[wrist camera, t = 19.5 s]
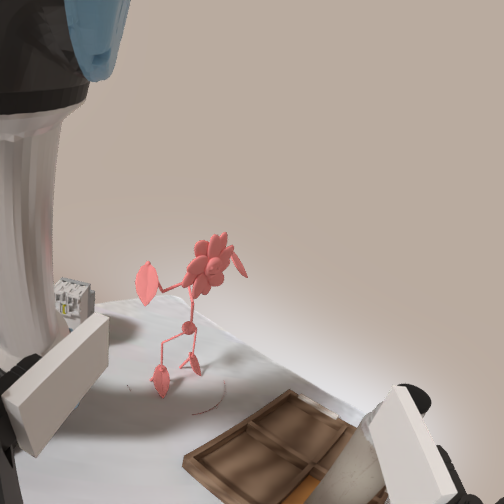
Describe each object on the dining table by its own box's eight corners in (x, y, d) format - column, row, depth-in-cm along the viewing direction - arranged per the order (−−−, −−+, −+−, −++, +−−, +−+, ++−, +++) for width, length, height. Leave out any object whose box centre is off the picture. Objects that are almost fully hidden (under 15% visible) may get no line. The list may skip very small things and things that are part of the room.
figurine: (117, 390, 55) (133, 221, 46) (200, 355, 77) (233, 221, 68) (167, 439, 48) (202, 258, 39) (248, 387, 69) (295, 246, 60)
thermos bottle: (338, 498, 39) (425, 375, 32) (347, 533, 32) (455, 415, 25) (295, 499, 39) (373, 372, 32) (300, 537, 31) (399, 418, 24)
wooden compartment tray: (181, 466, 42) (184, 453, 41) (285, 399, 67) (290, 386, 66) (334, 573, 25) (348, 565, 24) (399, 464, 49) (410, 451, 48)
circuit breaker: (95, 326, 75) (97, 274, 71) (80, 356, 61) (79, 298, 57) (70, 319, 73) (71, 268, 69) (51, 348, 59) (48, 290, 56)
